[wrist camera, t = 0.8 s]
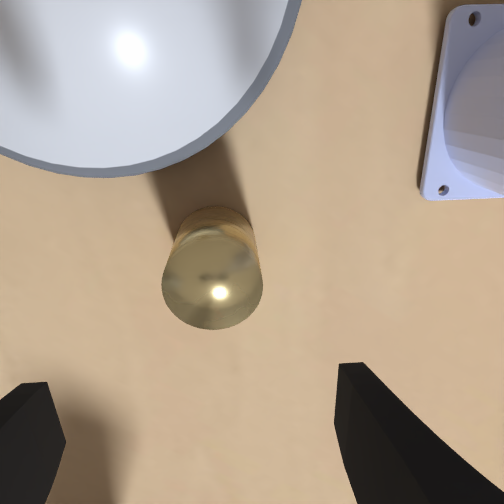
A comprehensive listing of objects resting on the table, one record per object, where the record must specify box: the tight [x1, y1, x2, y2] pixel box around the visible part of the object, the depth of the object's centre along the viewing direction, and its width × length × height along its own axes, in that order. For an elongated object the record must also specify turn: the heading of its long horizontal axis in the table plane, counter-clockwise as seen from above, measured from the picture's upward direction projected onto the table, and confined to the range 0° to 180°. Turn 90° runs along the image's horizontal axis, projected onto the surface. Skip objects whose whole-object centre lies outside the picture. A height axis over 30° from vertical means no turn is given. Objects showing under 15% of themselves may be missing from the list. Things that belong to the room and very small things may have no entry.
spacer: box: [162, 206, 263, 330], centre depth 17 cm, size 4×4×4 cm
